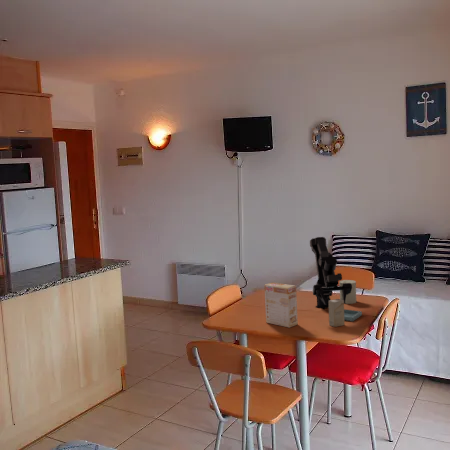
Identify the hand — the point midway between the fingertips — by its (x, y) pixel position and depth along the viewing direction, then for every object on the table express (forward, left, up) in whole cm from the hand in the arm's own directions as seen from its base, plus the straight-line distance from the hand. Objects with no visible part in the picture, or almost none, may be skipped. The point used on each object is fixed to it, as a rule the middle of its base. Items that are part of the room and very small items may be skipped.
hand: (335, 303), depth 249 cm
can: (-11, +40, -10) cm, 43 cm away
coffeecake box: (-24, -12, -10) cm, 28 cm away
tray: (0, +12, -10) cm, 16 cm away
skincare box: (+1, -2, -10) cm, 10 cm away
